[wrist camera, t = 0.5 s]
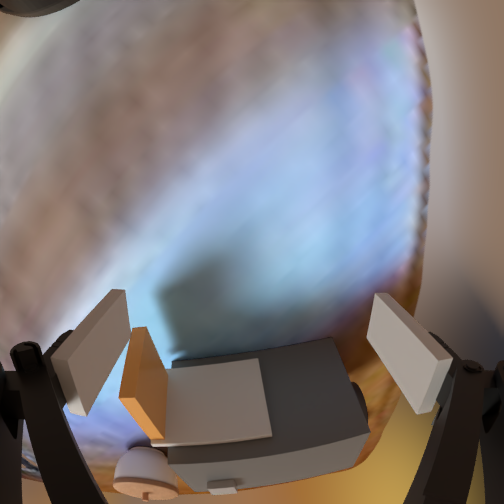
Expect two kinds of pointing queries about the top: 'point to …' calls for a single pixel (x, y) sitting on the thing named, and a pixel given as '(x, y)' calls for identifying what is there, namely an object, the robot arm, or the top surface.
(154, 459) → the lidded bowl
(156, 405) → the door
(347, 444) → the box
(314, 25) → the top surface
